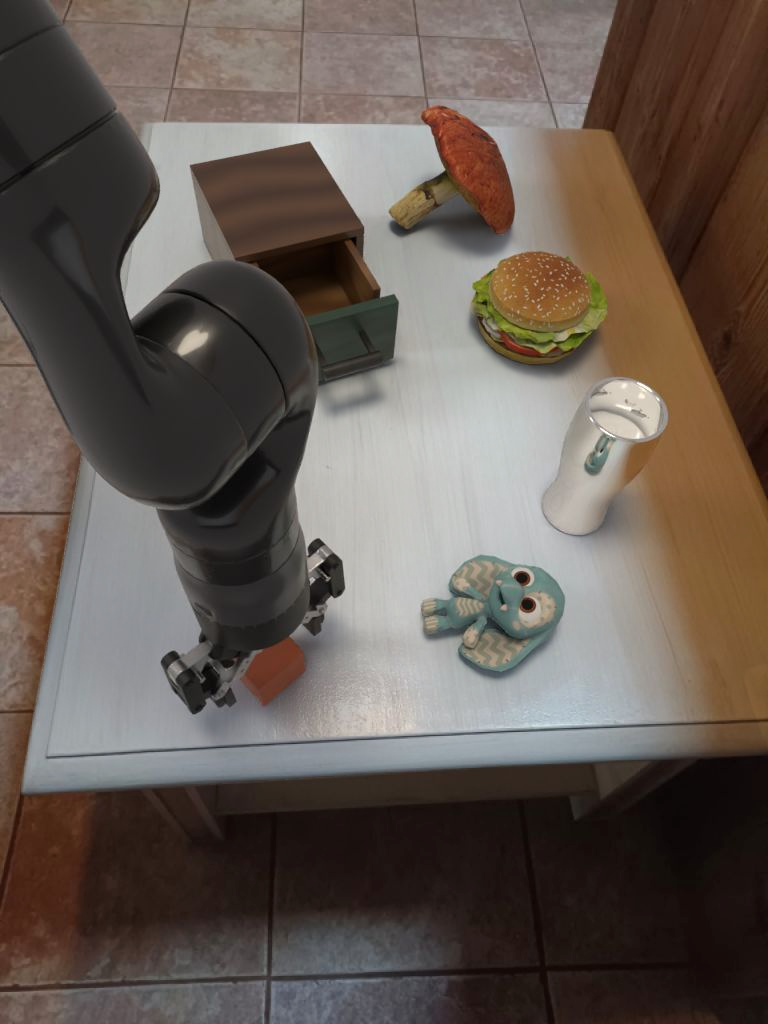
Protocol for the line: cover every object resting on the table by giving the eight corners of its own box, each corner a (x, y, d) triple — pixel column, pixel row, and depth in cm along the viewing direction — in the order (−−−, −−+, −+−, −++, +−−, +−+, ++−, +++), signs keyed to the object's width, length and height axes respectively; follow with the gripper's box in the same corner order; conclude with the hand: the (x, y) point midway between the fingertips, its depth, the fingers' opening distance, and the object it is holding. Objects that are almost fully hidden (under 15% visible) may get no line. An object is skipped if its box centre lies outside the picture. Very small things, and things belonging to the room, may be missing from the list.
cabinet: (361, 300, 82) (364, 227, 74) (245, 331, 79) (234, 257, 71) (312, 216, 90) (310, 140, 81) (203, 241, 86) (189, 164, 78)
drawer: (410, 387, 75) (417, 331, 68) (295, 421, 72) (291, 366, 65) (342, 270, 83) (343, 210, 77) (237, 296, 80) (227, 236, 74)
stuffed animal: (410, 538, 60) (554, 517, 60) (418, 575, 66) (548, 556, 66) (425, 662, 55) (584, 641, 54) (432, 689, 61) (575, 671, 60)
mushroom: (384, 243, 81) (519, 219, 78) (364, 96, 78) (503, 65, 76) (403, 262, 96) (516, 243, 94) (386, 140, 94) (503, 116, 91)
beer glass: (550, 467, 72) (597, 362, 59) (617, 495, 70) (680, 394, 58) (526, 521, 68) (570, 422, 55) (596, 551, 67) (658, 457, 54)
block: (263, 706, 58) (258, 690, 54) (230, 667, 59) (222, 648, 56) (305, 670, 60) (303, 652, 56) (272, 633, 61) (267, 613, 57)
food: (514, 394, 76) (531, 340, 70) (447, 308, 83) (457, 250, 76) (617, 354, 80) (643, 299, 73) (546, 275, 86) (564, 217, 80)
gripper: (295, 464, 48) (306, 574, 62) (107, 597, 42) (165, 686, 56) (373, 538, 45) (366, 635, 59) (183, 690, 40) (224, 758, 53)
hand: (268, 660), depth 57 cm, fingers open, 8 cm apart
